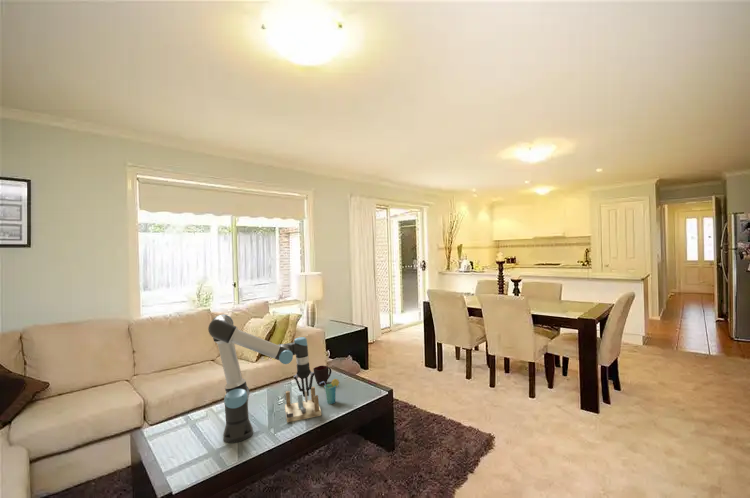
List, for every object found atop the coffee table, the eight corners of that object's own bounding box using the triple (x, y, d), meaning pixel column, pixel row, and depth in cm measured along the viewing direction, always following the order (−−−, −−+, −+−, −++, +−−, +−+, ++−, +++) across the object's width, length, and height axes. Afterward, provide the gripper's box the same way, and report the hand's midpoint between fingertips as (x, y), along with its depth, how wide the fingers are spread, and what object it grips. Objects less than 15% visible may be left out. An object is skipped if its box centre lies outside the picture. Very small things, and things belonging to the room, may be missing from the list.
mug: (312, 384, 265) (311, 368, 265) (327, 379, 275) (326, 363, 275) (320, 387, 258) (319, 371, 258) (335, 381, 268) (334, 365, 268)
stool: (286, 422, 207) (285, 403, 207) (285, 408, 226) (283, 391, 226) (321, 415, 213) (320, 396, 213) (316, 402, 232) (315, 385, 232)
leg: (306, 412, 212) (305, 398, 212) (302, 413, 211) (301, 399, 211) (302, 406, 221) (301, 393, 221) (298, 407, 220) (297, 394, 220)
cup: (323, 408, 223) (322, 383, 223) (317, 404, 229) (315, 380, 229) (342, 400, 232) (340, 377, 232) (336, 397, 238) (334, 375, 238)
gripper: (292, 366, 214) (296, 406, 214) (314, 362, 218) (317, 401, 218) (291, 363, 221) (295, 401, 221) (312, 359, 225) (315, 396, 225)
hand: (306, 401), depth 220 cm, fingers closed
